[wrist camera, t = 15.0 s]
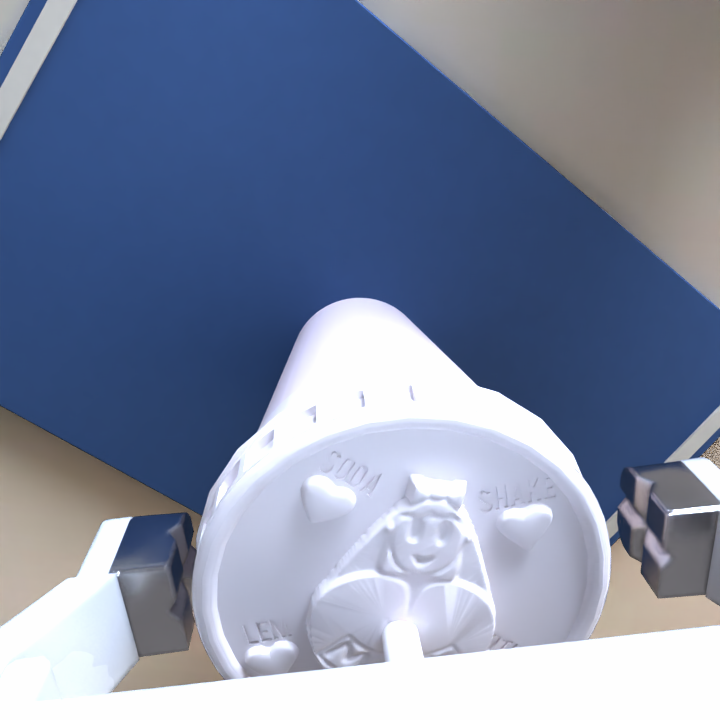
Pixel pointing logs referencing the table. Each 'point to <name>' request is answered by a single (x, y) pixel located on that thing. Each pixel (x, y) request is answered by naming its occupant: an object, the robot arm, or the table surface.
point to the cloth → (305, 240)
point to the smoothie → (392, 514)
